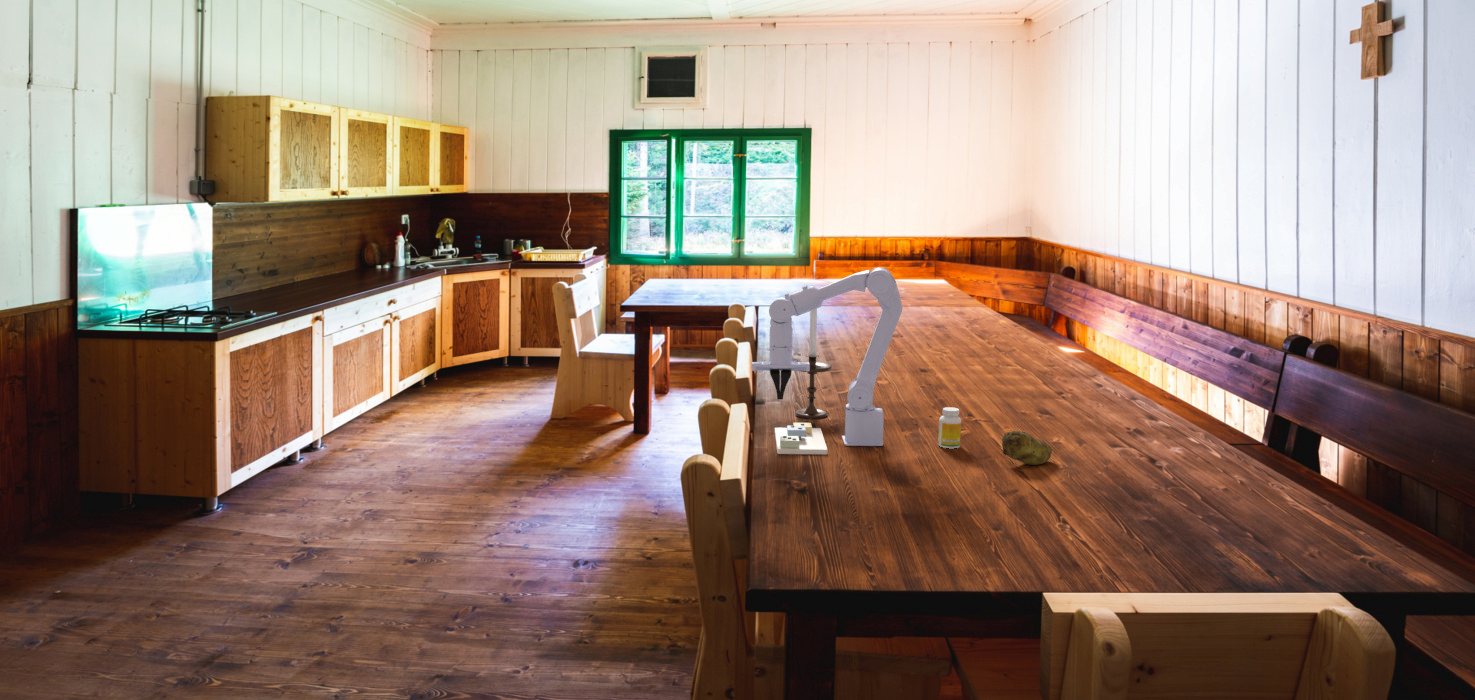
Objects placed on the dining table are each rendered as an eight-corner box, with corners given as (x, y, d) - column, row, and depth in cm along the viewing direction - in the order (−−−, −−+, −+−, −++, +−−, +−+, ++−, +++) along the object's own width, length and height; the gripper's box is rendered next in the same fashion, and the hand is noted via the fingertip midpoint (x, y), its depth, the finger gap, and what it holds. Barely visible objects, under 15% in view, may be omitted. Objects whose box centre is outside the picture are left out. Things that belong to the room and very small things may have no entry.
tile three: (798, 442, 219) (798, 435, 218) (799, 447, 214) (799, 440, 214) (779, 442, 219) (779, 435, 219) (780, 447, 214) (780, 439, 214)
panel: (820, 432, 234) (820, 424, 233) (827, 454, 214) (827, 445, 213) (774, 432, 234) (774, 423, 233) (777, 453, 214) (777, 444, 214)
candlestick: (832, 419, 247) (835, 294, 241) (793, 419, 247) (795, 294, 241) (828, 410, 258) (831, 290, 252) (791, 410, 258) (793, 289, 252)
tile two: (804, 432, 225) (804, 424, 225) (805, 436, 221) (805, 429, 220) (786, 431, 225) (786, 424, 225) (787, 436, 221) (787, 429, 220)
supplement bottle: (933, 444, 223) (935, 407, 221) (952, 442, 225) (954, 405, 223) (945, 450, 218) (947, 412, 216) (964, 448, 220) (966, 410, 218)
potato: (1061, 468, 204) (1063, 434, 203) (1007, 469, 203) (1009, 435, 202) (1045, 458, 212) (1048, 425, 211) (993, 459, 211) (995, 426, 210)
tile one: (810, 429, 232) (810, 422, 231) (811, 433, 227) (811, 426, 227) (793, 428, 232) (793, 421, 231) (794, 433, 227) (794, 426, 227)
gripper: (808, 343, 227) (807, 395, 230) (751, 343, 228) (751, 394, 230) (810, 348, 221) (809, 401, 223) (752, 347, 221) (751, 401, 223)
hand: (780, 398), depth 226 cm, fingers closed
